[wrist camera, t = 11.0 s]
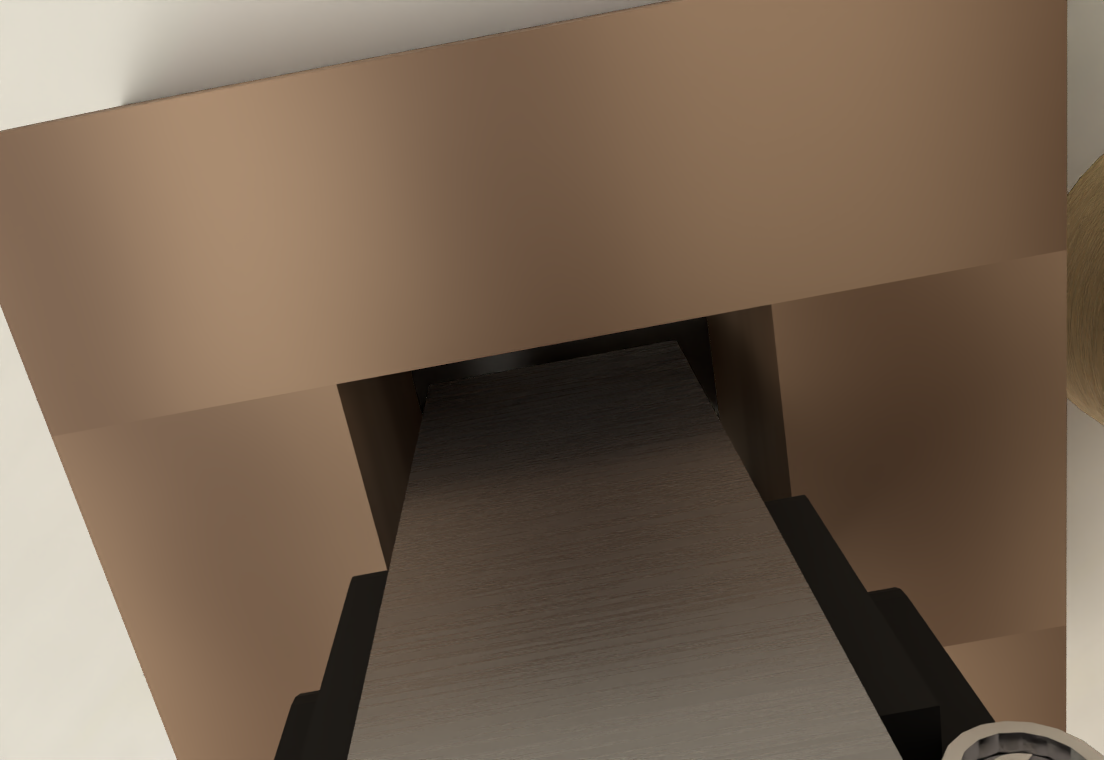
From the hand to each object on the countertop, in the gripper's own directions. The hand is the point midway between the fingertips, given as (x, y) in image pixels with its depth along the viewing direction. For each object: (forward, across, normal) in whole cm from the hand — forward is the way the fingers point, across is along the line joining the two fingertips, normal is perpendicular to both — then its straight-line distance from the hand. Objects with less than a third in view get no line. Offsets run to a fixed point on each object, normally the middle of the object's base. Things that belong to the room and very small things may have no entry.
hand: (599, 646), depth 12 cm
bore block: (+9, 0, 0) cm, 9 cm away
